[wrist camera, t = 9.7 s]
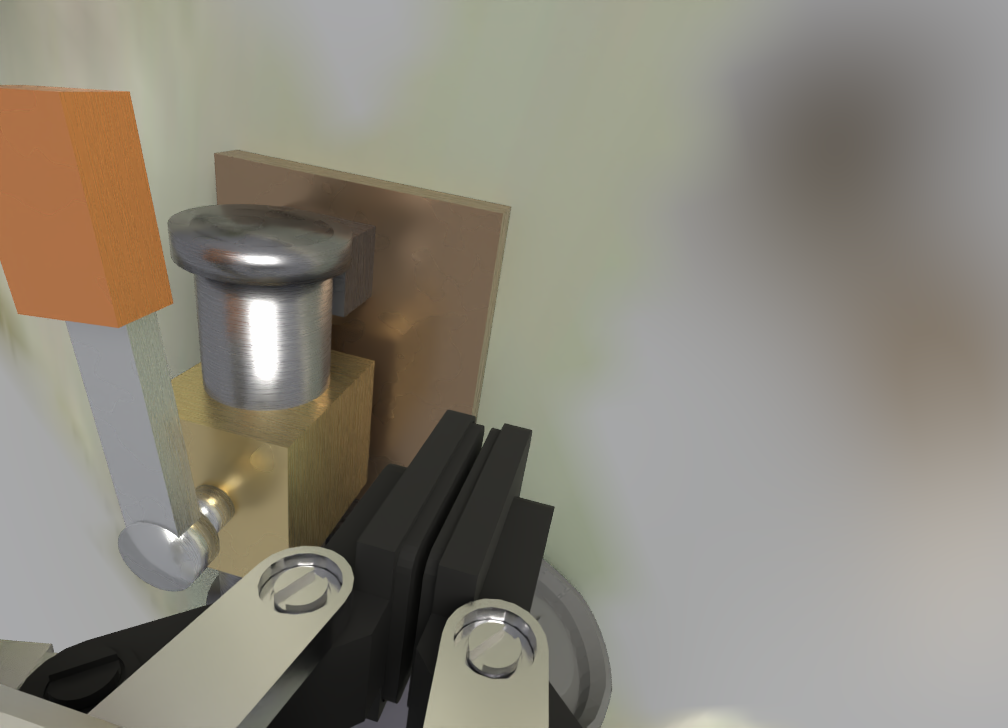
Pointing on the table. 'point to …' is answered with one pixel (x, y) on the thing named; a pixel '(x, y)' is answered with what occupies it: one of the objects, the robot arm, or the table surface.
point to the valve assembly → (323, 342)
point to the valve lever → (104, 304)
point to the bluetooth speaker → (554, 654)
